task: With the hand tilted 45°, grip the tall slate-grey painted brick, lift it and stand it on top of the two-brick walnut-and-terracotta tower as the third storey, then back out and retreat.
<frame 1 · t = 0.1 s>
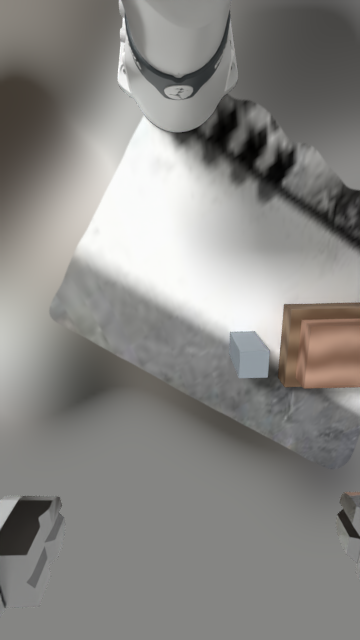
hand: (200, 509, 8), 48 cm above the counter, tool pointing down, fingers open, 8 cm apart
slate brick: (241, 343, 58), on the counter
plinth: (319, 341, 58), on the counter
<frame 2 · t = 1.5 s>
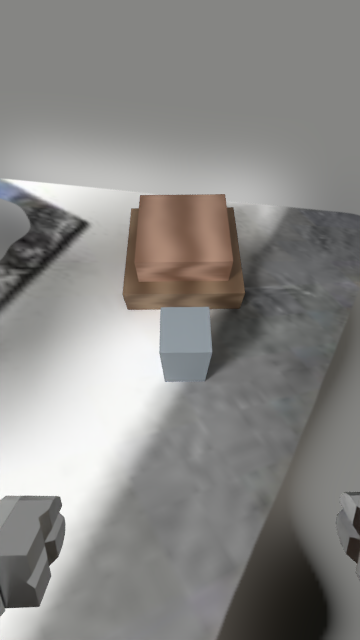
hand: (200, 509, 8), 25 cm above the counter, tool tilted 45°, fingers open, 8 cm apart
slate brick: (184, 362, 37), on the counter
plinth: (182, 264, 44), on the counter
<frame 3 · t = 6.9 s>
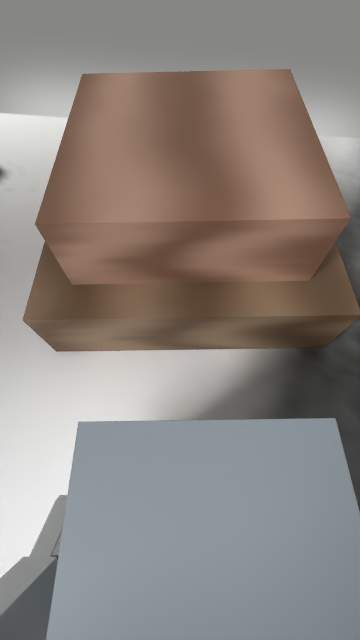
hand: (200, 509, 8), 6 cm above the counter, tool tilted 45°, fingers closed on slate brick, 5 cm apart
slate brick: (194, 509, 13), on the counter, touching gripper
plinth: (187, 247, 21), on the counter
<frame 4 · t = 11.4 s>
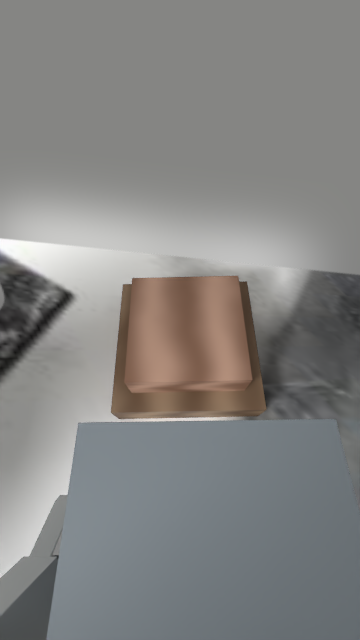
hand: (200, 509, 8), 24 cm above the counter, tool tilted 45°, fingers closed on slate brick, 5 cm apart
slate brick: (194, 510, 13), point 18 cm above the counter, touching gripper
plinth: (186, 352, 36), on the counter
when the fingers open (15 cm above the counter, at t = 16.1 s): slate brick drops 1 cm, resting on plinth.
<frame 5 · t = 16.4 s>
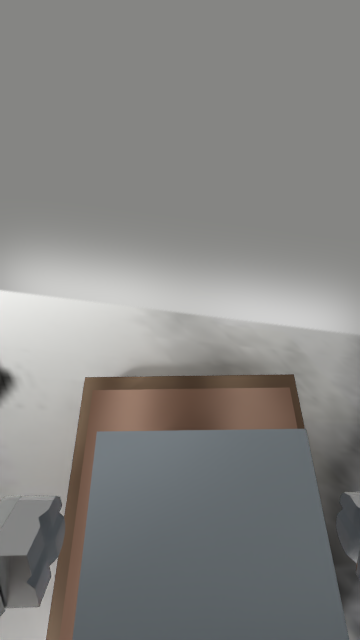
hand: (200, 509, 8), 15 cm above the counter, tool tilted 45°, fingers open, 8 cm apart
slate brick: (193, 506, 14), point 8 cm above the counter, touching plinth
plinth: (191, 494, 22), on the counter
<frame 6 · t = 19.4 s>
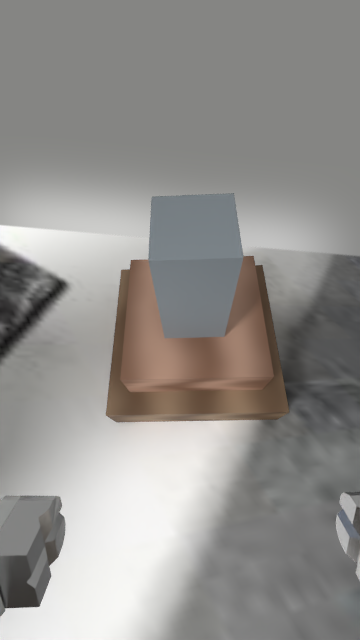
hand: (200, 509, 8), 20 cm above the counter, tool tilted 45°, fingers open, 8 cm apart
slate brick: (193, 311, 25), point 8 cm above the counter, touching plinth
plinth: (193, 346, 32), on the counter
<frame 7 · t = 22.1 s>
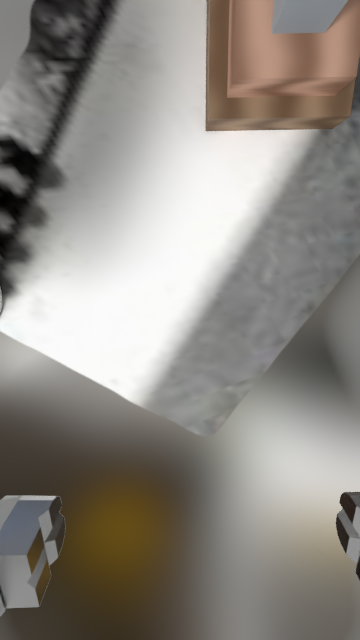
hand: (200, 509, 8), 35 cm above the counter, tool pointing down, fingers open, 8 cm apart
plinth: (273, 51, 34), on the counter
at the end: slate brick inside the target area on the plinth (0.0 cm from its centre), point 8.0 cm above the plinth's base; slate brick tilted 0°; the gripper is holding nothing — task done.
